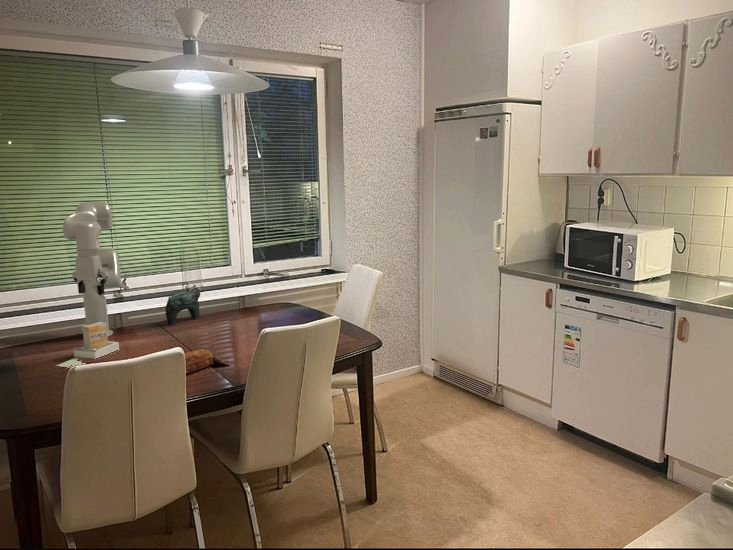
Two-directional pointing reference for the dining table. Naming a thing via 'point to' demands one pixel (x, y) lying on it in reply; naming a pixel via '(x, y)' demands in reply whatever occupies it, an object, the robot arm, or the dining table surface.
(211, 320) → the dining table surface
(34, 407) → the dining table surface
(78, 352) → the white shallow tray
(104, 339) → the supplement box
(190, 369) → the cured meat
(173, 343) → the dining table surface
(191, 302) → the green horse figurine
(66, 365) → the mat
